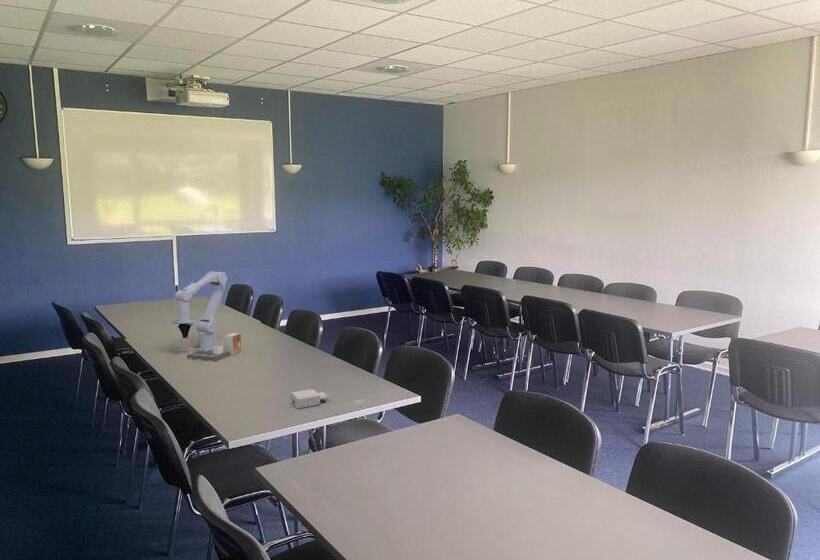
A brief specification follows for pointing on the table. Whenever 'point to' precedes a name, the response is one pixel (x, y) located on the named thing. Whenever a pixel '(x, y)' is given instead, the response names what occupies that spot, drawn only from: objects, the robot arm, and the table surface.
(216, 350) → the fader
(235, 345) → the small box
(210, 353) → the panel
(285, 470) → the table surface
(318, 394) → the charger
